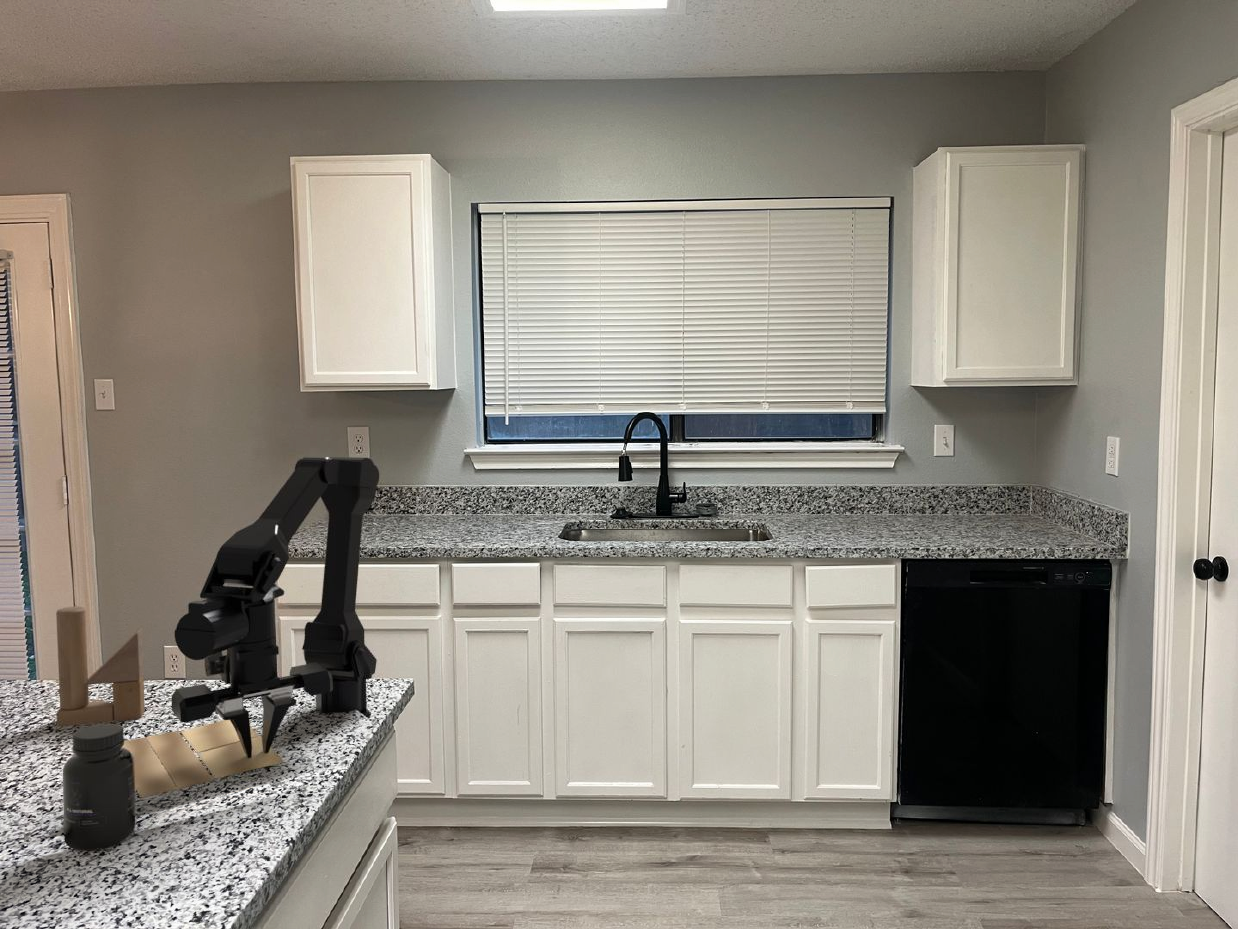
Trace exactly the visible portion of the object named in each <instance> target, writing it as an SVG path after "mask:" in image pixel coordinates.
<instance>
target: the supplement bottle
mask: <svg viewBox="0 0 1238 929" xmlns="http://www.w3.org/2000/svg"><path fill="white" fill-rule="evenodd" d="M124 732H125V731H124V727H123V726H122V725H120V724H116V723H97V724H94V725H90V726H89V725H88V726H85V727H83V728H80V729H77V731H75V732H74V733H73V735H72V753H73V754H74V755H72V756H71V757H69V759H68V760H66V762H65V764H64V766H63V768H62V798H63V799H62V802H63V805H62V806H63V810H62V811H63V832H64V834H63V835H64V836H63V840H64V842H65V844H66V846H67V847H68V848H70V849H73V850H76V851H97V850H102V849H107V848H109V847H112V846H115V845H118V844H120V843H122V842H123V841H125V840H127V839H129V837H130V836H131V835H132V834H133V833H134V831H135V830H136V787H135V764H134V756H133V754H132V753H131V752H130V751H129V750H128V749H126V748H123V747H122V746H123V745H124V741H125V737H124V734H125V733H124Z"/></svg>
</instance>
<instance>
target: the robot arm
mask: <svg viewBox="0 0 1238 929" xmlns="http://www.w3.org/2000/svg"><path fill="white" fill-rule="evenodd" d="M379 482H380V470H379V468H378V466H376V465H375V464H374V461H373V460H372V459H371V458H370V457H361V456H360V457H359V456H358V457H357V456H304V457H303V458H299V459H298V460H297V461H296V464H295V467H294V471H293V472H292V474H291V475H290V476H289V477H288V479H287V480H286V481H285V482H284V484H283V486H282V487H281V488H280V489H279V491H278V492H277V494H276V495H275V496H274V497H273V498H272V500H271V501H270V503H269V504H268V506H267V507H266V508H265V509H264V511H263V512H262V513H261V515H260V516H259V517H258V519H256V520H255V521H254V522H253V523H251V524H249V525H248V526H245V527H243V528H241V529H240V530H238V531H236V532H235V533H234V534H233V535H232V536H230V538H228V539H227V540H226V541H225V542H224V543H223V544H222V545H221V547H220V548H219V549H218V551H217V553H216V556H215V559H214V560H213V563H212V566H211V568H210V571H209V573H208V575H207V578H206V580H205V583H204V585H203V587H202V589H201V592H200V594H199V597H200V599H201V600H193V601H190V602H189V603H188V605H187V607H188V608H187V610H188V612H187V613H186V614H183V616H182V617H180V619H179V620H178V622H177V624H176V629H174V641H175V643H176V647H177V648H178V650H179V651H180V652H181V653H182V654H183V655H184V657H186V658H188V659H190V660H193V661H201V660H204V668H205V669H204V671H205V675H206V677H207V678H208V677H209V678H210V677H214V676H215V677H216V676H219V675H220V678H221V679H220V680H221V682H222V683H223V682H224V683H225V684H226V685H229V687H225V688H220V689H215V690H212V689H210V688H209V687H208V686H207V684H206V683H202V684H197V685H192V686H185V687H180V688H176V689H175V690H174V692H173V693H172V694H171V698H170V699H171V700H170V701H171V711H172V713H173V714H174V715H175V718H177V719H178V721H179V722H180V723H190V722H191V723H192V722H194V721H195V722H196V721H201V720H205V719H210V718H211V717H212V715H213V714H214V713H215V712H216V713H217V715H219V717H220V718H221V719H222V721H223V720H230V721H231V723H232V724H233V726H234V728H235V730H236V733H237V735H238V737H239V740H240V742H241V744H242V747H243V749H244V751H245V754H246V756H247V757H248V758H251V757H252V741H251V731H250V727H251V723H250V721H251V720H250V713H249V711H248V710H247V709H246V708H245V707H244V701H245V700H250V699H255V698H259V697H261V702H262V708H263V710H262V736H261V737H262V745H263V752H264V753H269V750H270V748H272V745H273V742H274V740H275V739H276V735H277V732H278V731H279V727H280V726H281V725H282V722H283V720H284V718H285V716H286V714H287V713H288V710H289V709H290V708H292V707H294V706H297V700H296V699H295V698H294V697H293V694H294V690H298V689H302V688H303V691H304V693H306V694H308V695H309V696H315V710H317V711H318V712H319V713H321V714H322V715H323V714H332V713H333V714H334V713H335V714H336V713H337V714H338V713H349V712H353V711H354V712H355V711H357V712H359V713H360V714H361V715H363V716H364V717H366V718H368V717H371V716H372V711H370V710H368V707H367V706H368V705H367V704H368V702H367V680H369V679H372V678H373V675H374V674H375V673H376V668H377V662H378V661H377V658H376V657H375V655H374V654H373V653H372V651H371V650H370V649H369V648H368V646H366V645H367V644H365V643H366V642H365V629H364V626H363V623H362V622H361V620H360V618H359V616H358V614H357V612H356V603H357V590H358V578H359V577H358V576H359V567H360V566H359V565H360V555H361V554H360V552H361V540H362V530H363V528H362V527H363V518H364V515H365V514H366V512H367V511H368V510H369V508H370V507H371V505H372V504H373V502H374V501H375V500H376V493H377V488H378V484H379ZM320 499H321V501H322V503H323V505H324V507H325V509H326V510H327V513H328V523H327V532H326V533H327V534H326V543H325V544H326V545H325V546H326V547H325V556H324V566H323V580H322V592H321V603H320V605H321V606H320V610H319V612H318V613H317V615H316V616H315V618H314V619H313V620H312V621H307V622H306V624H305V626H304V641H303V644H302V648H301V650H302V651H303V657H304V661H305V664H302V665H295V666H291V668H290V670H289V675H287V676H286V675H284V676H281V677H279V676H278V655H280V650H279V646H278V645H277V630H276V629H277V628H276V608H275V607H276V606H275V605H276V603H275V602H276V601H275V599H278V598H280V597H283V596H284V594H285V590H284V589H282V588H281V587H280V586H278V585H277V584H276V583H277V582H278V581H279V579H280V577H281V575H282V574H283V571H284V569H285V567H286V565H287V563H288V561H289V559H290V550H289V545H290V542H291V541H292V538H293V537H294V535H296V533H297V531H298V530H299V528H300V527H301V526H302V524H303V522H304V521H305V519H306V518H307V517H308V515H309V514H310V512H311V511H312V509H313V508H314V507H315V506H316V503H318V501H319V500H320ZM225 584H226V585H225ZM224 651H226V654H224V655H223V652H224Z"/></svg>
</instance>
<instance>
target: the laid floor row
mask: <svg viewBox="0 0 1238 929" xmlns="http://www.w3.org/2000/svg"><path fill="white" fill-rule="evenodd" d="M122 747H123V748H126V749H128V750H129V751H130V752H131V753H132V754H133V756H134V764H135V790H136V791H137V793H138V794H139V795H138V796H139V797H140V799H143V798H147V797H150V796H151V797H152V796H154V795H159V794H164V793H167V792H171V791H176V790H180V789H184V788H189V787H192V786H197V785H201V784H204V783H209V782H214V781H215V778H213V777H212V775H211V774H210V773H209V770H207V768H206V767H205V765H204V764H203V762H201V759H199V758H198V755H196V754H195V751H193V749H192V748H191V747H190V746H189V743H187V740H185V739H184V736H183V735H182V734H181V732H179V731H178V730H175V731H170V732H164V733H160V734H154V735H150V736H144V737H139V738H135V739H130V740H124V745H123V746H122Z"/></svg>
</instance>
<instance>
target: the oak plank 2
mask: <svg viewBox="0 0 1238 929" xmlns="http://www.w3.org/2000/svg"><path fill="white" fill-rule="evenodd" d="M251 741H252V757H251V758H248V757H247V756H246V754H245V751H244V749H243V747H242V744H241V742H237V743H233V744H230V745H226V746H223V747H219V748H216V749H212V750H207V751H203V752H198V753H197V756H198V757H199V758H200V761H202V763H204V764H203V765H204V766H206V769H208V771H209V772H210V773H211V774H212V776H213V777H214V779H219V778H222V777H228V776H232V775H236V774H237V775H238V774H240V773H245V772H249V771H252V770H256V769H260V768H265V767H270V766H273V765H278V764H281V763H283V758H282V757H281V755H279V754H278V753H277V752H276V750H274V749H273V748H272V747H271V748H270V750H269V753H264V752H263V745H262V736H260V735H259V736H258V737H255V738H251Z"/></svg>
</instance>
